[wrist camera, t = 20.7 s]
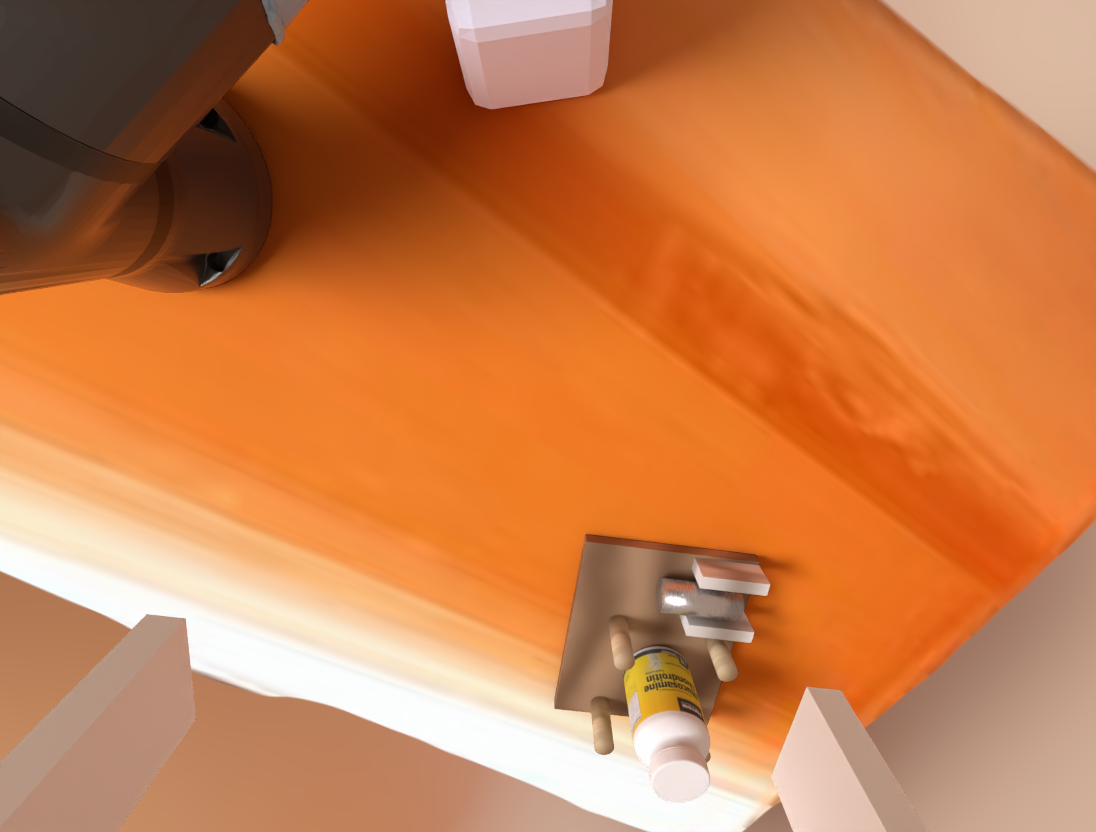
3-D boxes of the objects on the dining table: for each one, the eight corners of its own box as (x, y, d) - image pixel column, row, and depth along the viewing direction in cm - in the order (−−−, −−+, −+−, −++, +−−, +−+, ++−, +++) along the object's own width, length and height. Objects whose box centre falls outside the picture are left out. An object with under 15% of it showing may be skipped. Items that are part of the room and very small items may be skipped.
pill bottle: (700, 660, 54) (739, 772, 43) (662, 702, 56) (690, 821, 45) (646, 632, 53) (672, 741, 42) (608, 676, 55) (624, 792, 44)
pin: (654, 597, 51) (660, 620, 48) (660, 570, 50) (667, 592, 47) (727, 606, 52) (737, 628, 49) (735, 579, 51) (746, 601, 48)
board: (554, 698, 57) (555, 753, 52) (585, 534, 51) (590, 576, 45) (704, 714, 58) (722, 770, 52) (755, 554, 51) (781, 598, 45)
